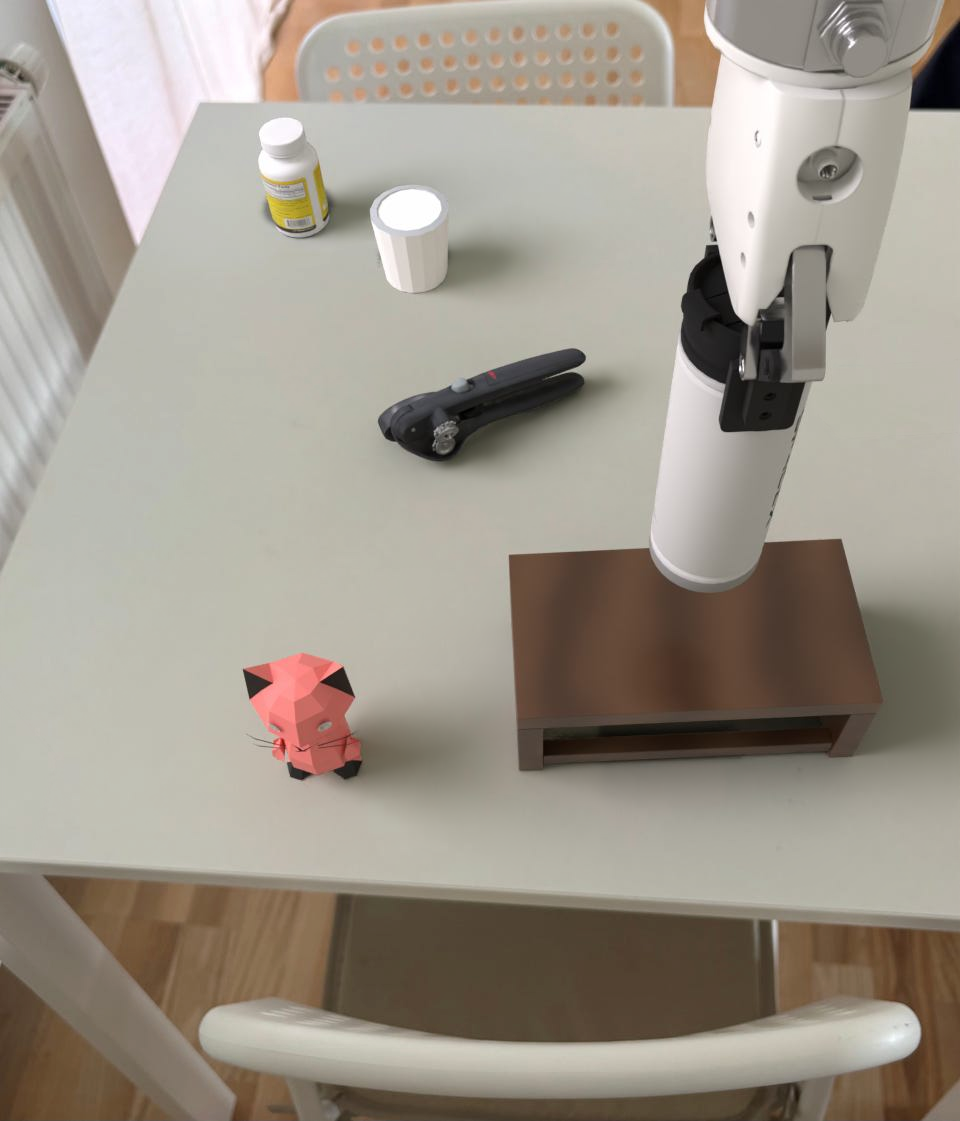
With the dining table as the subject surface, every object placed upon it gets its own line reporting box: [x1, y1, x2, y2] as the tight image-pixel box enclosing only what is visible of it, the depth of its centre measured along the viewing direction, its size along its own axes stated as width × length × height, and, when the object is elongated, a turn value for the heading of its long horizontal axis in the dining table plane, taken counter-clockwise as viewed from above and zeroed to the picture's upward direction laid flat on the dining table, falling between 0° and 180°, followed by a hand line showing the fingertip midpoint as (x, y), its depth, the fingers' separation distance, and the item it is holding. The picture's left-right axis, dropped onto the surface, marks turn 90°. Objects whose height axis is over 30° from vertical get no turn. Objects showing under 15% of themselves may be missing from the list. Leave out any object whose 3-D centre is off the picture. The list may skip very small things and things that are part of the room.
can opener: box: [377, 347, 587, 463], centre depth 88 cm, size 18×7×6 cm, turn 115°
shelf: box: [508, 538, 884, 772], centre depth 73 cm, size 22×12×8 cm, turn 92°
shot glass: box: [369, 184, 450, 294], centre depth 98 cm, size 7×7×7 cm
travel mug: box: [648, 251, 832, 593], centre depth 55 cm, size 6×7×20 cm
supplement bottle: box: [258, 117, 330, 238], centre depth 101 cm, size 5×5×10 cm
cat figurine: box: [242, 652, 363, 781], centre depth 69 cm, size 7×7×12 cm
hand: (742, 365), depth 51 cm, fingers closed on travel mug, 6 cm apart
